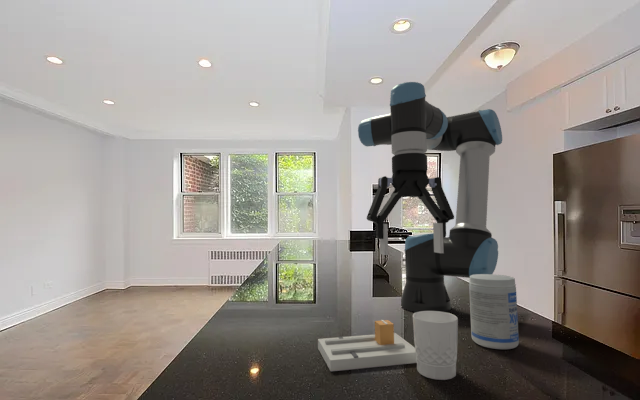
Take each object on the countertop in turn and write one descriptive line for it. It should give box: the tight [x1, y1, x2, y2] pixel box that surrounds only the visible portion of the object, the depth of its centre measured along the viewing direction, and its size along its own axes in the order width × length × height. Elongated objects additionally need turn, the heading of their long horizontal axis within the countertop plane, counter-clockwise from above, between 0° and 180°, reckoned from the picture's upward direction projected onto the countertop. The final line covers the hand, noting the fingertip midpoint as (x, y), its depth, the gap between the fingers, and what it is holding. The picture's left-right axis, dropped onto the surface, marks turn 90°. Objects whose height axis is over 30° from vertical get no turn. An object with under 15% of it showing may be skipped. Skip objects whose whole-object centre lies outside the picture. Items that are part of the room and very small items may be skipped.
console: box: [317, 332, 417, 372], centre depth 72 cm, size 18×12×3 cm, turn 102°
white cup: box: [412, 311, 459, 381], centre depth 64 cm, size 8×8×10 cm
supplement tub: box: [468, 273, 520, 350], centre depth 79 cm, size 10×10×15 cm
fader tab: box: [374, 319, 395, 345], centre depth 73 cm, size 3×3×4 cm
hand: (411, 253), depth 76 cm, fingers open, 12 cm apart
